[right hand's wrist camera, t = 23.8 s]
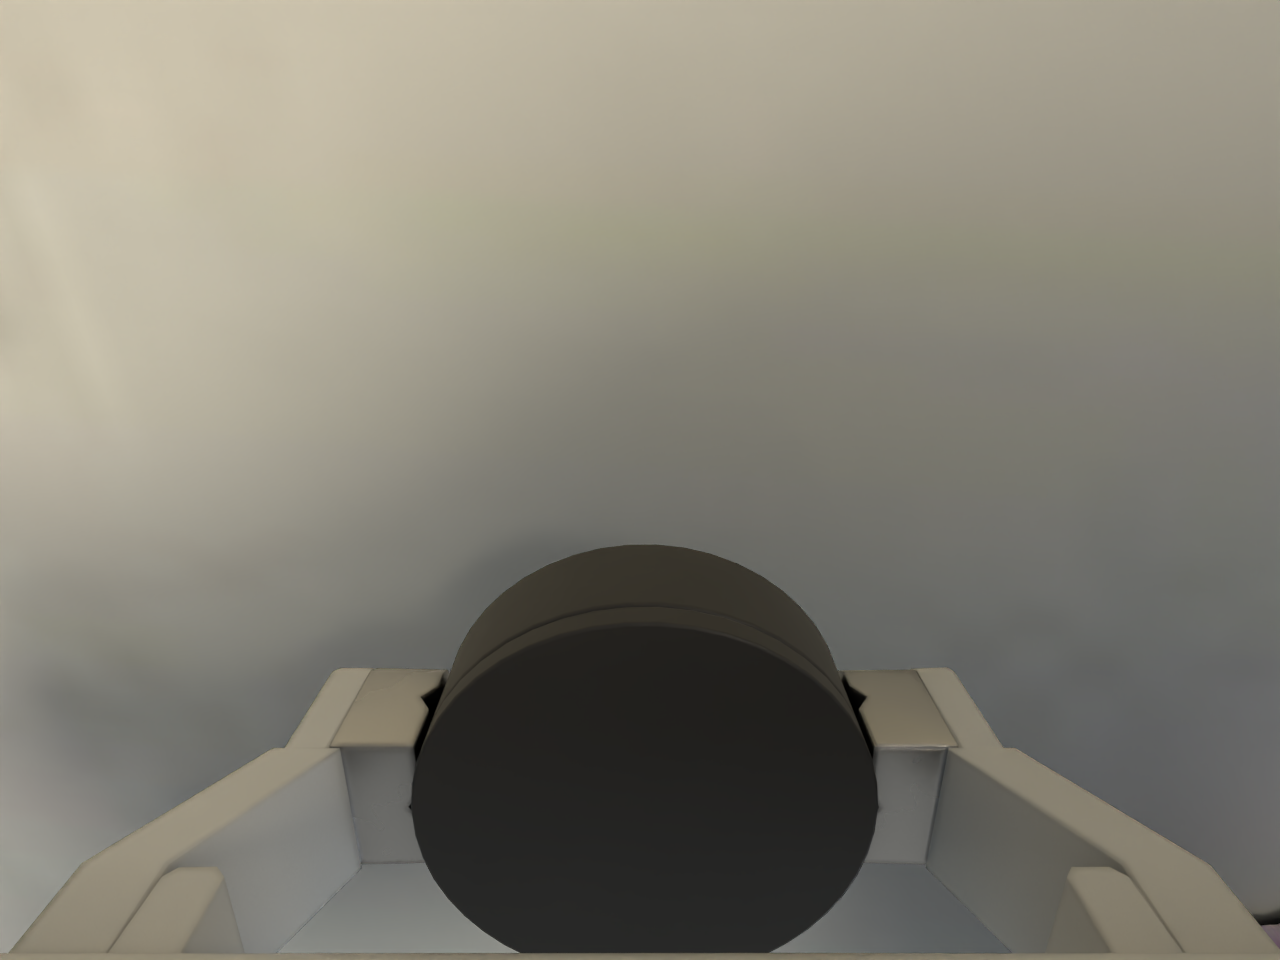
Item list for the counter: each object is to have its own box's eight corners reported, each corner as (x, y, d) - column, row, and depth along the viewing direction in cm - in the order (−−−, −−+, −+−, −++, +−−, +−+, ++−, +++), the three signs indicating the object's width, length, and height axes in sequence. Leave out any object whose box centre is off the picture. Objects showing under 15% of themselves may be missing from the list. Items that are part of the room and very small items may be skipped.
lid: (630, 914, 12) (627, 1038, 10) (365, 704, 10) (311, 809, 9) (917, 729, 10) (970, 836, 9) (662, 458, 9) (667, 525, 7)
